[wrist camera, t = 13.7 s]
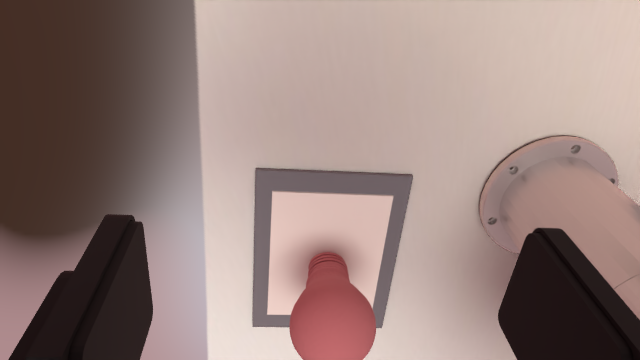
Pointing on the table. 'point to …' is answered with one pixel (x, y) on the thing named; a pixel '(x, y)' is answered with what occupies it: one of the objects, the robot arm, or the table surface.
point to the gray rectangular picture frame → (324, 234)
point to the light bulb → (331, 314)
